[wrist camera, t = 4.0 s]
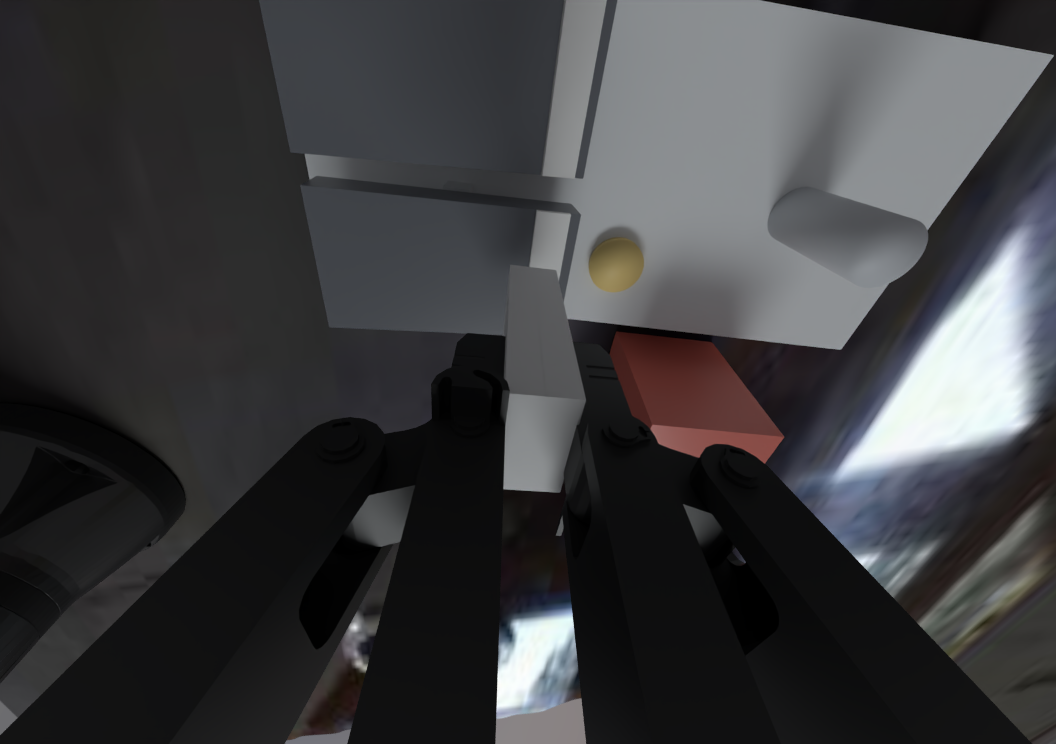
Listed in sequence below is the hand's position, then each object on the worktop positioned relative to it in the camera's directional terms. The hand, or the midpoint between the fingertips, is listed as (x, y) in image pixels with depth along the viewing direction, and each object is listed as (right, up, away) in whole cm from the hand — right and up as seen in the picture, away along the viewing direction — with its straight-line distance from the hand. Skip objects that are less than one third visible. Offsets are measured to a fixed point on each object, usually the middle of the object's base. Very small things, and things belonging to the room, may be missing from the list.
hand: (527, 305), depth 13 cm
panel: (+4, +7, +5) cm, 9 cm away
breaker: (-2, +7, -2) cm, 7 cm away
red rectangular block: (+8, -3, +12) cm, 14 cm away
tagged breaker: (-3, +2, +2) cm, 4 cm away
